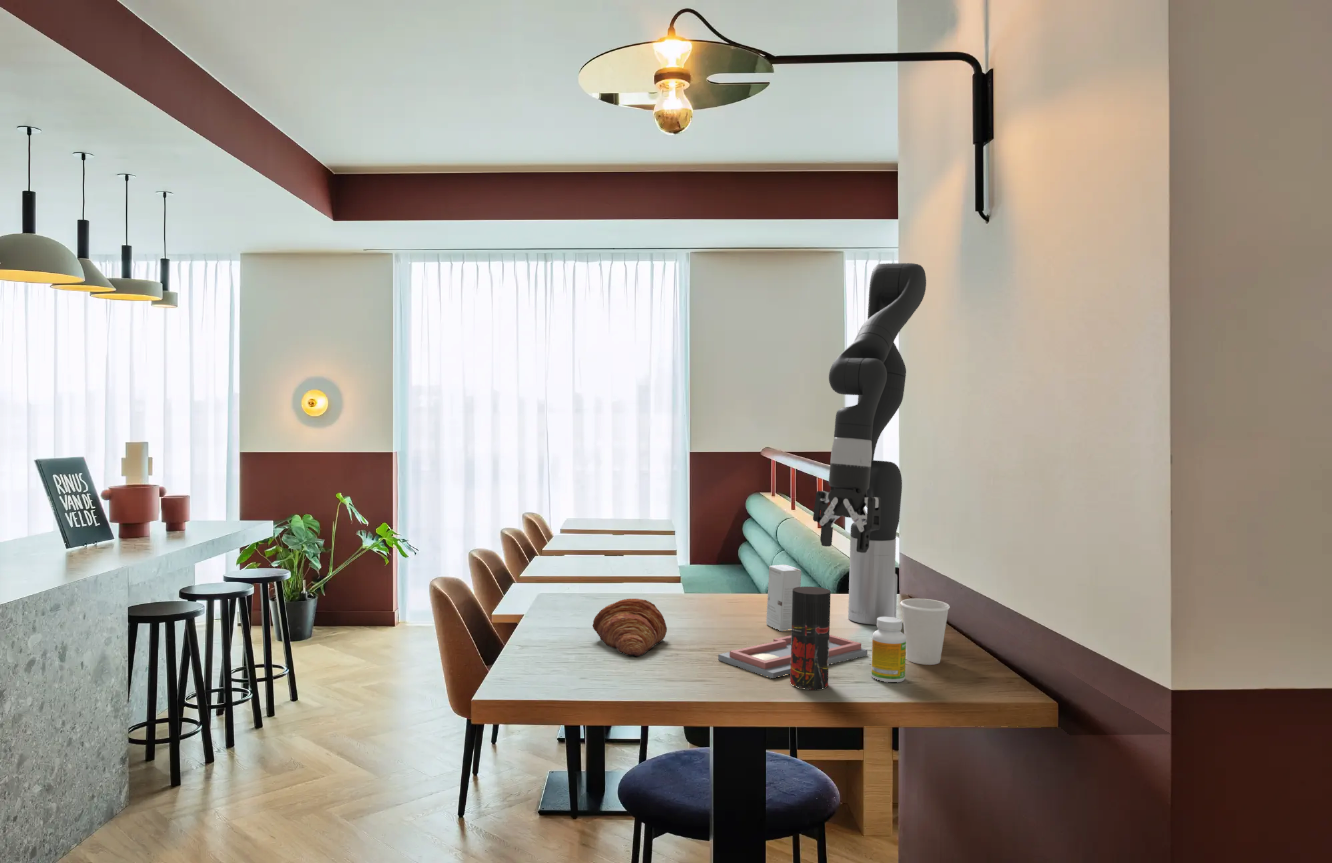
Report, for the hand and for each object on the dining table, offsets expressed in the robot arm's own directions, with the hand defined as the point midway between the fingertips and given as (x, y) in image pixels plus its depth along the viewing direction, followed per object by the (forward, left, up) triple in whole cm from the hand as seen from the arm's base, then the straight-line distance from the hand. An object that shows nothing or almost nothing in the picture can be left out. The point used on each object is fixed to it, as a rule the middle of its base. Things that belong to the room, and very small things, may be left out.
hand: (843, 549), depth 167 cm
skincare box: (+2, -13, -18) cm, 22 cm away
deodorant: (+25, +14, -18) cm, 33 cm away
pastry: (+33, -22, -18) cm, 43 cm away
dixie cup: (-2, +17, -18) cm, 24 cm away
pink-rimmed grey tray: (+16, +3, -17) cm, 24 cm away
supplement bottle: (+12, +20, -18) cm, 29 cm away
